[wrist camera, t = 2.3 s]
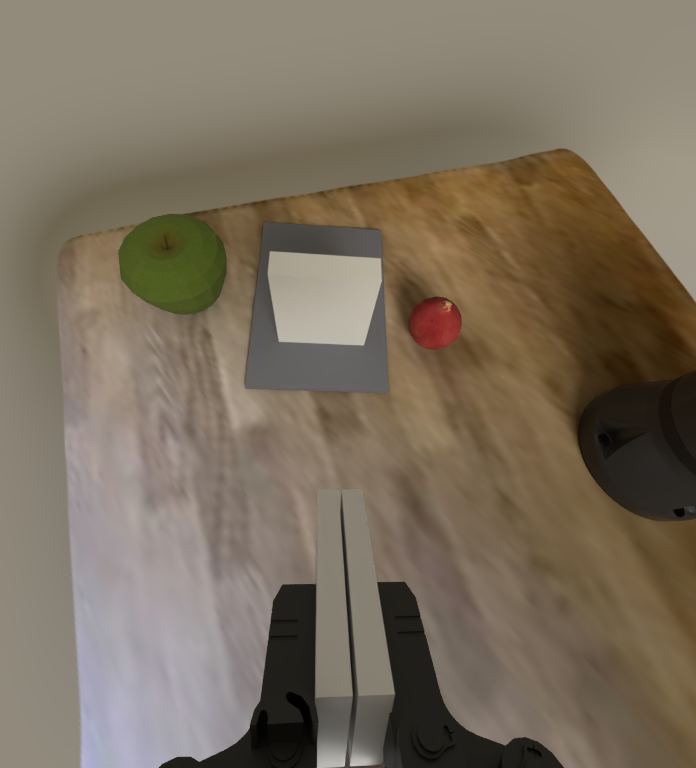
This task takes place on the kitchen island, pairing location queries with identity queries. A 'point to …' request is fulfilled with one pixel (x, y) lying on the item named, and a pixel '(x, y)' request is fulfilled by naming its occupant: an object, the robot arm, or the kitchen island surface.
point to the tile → (323, 297)
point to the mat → (312, 360)
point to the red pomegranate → (435, 323)
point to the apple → (174, 263)
